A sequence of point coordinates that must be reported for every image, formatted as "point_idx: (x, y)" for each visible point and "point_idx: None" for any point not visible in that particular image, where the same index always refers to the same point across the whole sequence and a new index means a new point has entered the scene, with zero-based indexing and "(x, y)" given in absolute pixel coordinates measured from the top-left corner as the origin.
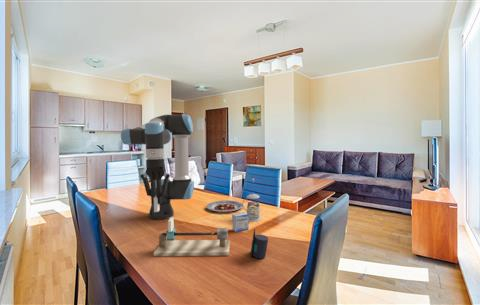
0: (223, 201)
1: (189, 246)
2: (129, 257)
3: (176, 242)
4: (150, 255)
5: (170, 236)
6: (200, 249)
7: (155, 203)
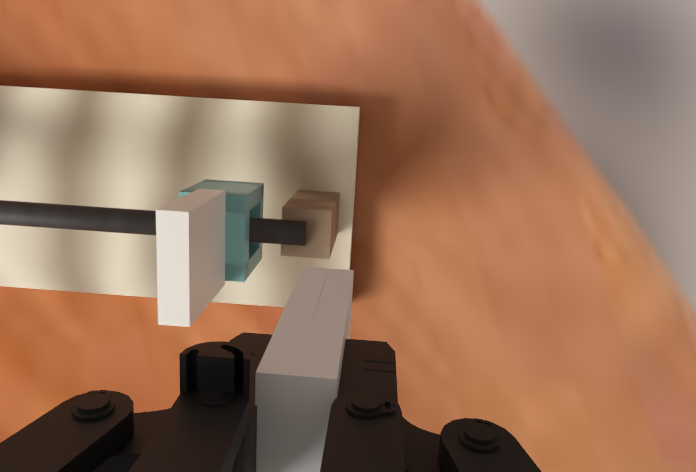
0: None
1: (111, 188)
2: (537, 102)
3: None
4: (388, 120)
5: (220, 186)
6: (16, 132)
7: (314, 320)
